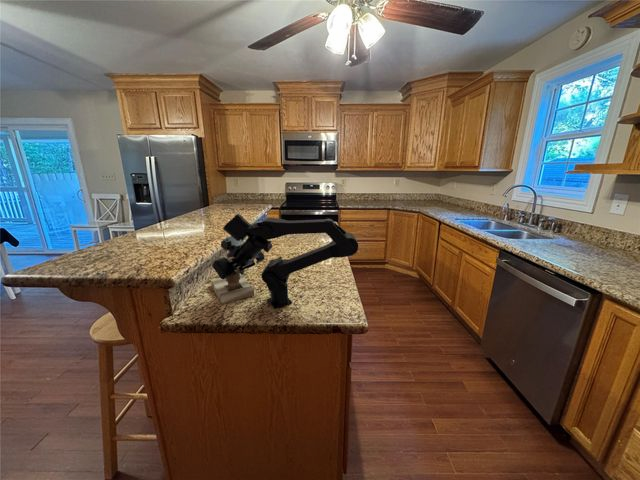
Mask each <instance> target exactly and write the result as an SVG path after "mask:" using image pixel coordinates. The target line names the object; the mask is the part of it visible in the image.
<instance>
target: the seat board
mask: <svg viewBox="0 0 640 480" xmlns="http://www.w3.org/2000/svg"><path fill="white" fill-rule="evenodd" d="M210 283H211V285H210V286H211V288H212V289H213V291H214V292H215V295H216V296H217V298H218V299H219V301H220V303H221V305H224V304H228V303H231V302H235V301H239V300H242V299H246V298H249V297H253V296H255V289H254V287H253V286H252V285H251V283H249V281H247V279H246V278H245V277H244V276H243V274H240V280H239V287H240V289H237V290H233V291H229V290H228V282H227V281H226V278H225V279H221V278H220V277H217V278H213V279H210Z"/></svg>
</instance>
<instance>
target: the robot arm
mask: <svg viewBox="0 0 640 480" xmlns="http://www.w3.org/2000/svg"><path fill="white" fill-rule="evenodd" d="M222 230H223V231H225V232H226V234H228V235H229V236H226V237H225V238H224V239H222V241H220V247H221V248H222V249H223V250H224V251H228V250H229V251H230V252H231V254H230V255H231V256H232V257H234V258H232V259H231V260H232V262H229V261H228V260H227V257H221V258H217V259H214V260H213V262H212V264H211V266H212V268H213V270H214V271H215V273H216V274H217V275H218V276H219V277H218V278H221V279H225V278H228V277H230V276H232V275H235V274H237V273H236V272H235V271H236V270H237V268H238V267H239V271H241V270H244V269H245V270H246V269H247V270H248V269H249V268H250V269H251V267H255V266H256V264H257V265H258V264H261V263H262V262H263V261H264V260H265V255H264V253H263V252H262V251H263V250H264V251H265V252H266V253H269V252H270V251H271V249H272V248H273V244H272V241H271V240H273V239H278V238H280V237H283V236H287V235H288V236H289V235H301V234H302V235H305V234H308V235H309V234H311V235H312V234H326V235H327V236H328V237H329V238H330V239H331V241H330V242H328V243H327V244H325V245H322V246H320V247H317V248H314V249H313V250H310V251H307V252H305V253H302V254H300V255H297V256H294V257H292V258H289V259H283V256H278V257H277V258H275V259H270V261H269V262H268V263H267V264H266V266H265V267H264V269H263V271H262V272H261V279H262V281H263V283H265V284H266V287H267V290H268V291H269V292H270V293H269V294H270V297H269V298H267V299H266V301H267V303H268V304H270V306H271V307H273V309H277V308H281V307H284V306H288V305H291V304H293V300H291V298H289V293H288V291H289V289H288V285H289V284H288V281H289V277H290V275H291V274H293V273H296V272H297V271H301V270H304V269H307V268H309V267H311V266H313V265H316V264H319V263H321V262H325V261H326V260H329V259H333V258H334V259H335V258H336V259H339V258H340V259H341V258H347V257H351V256H354V255H356V254H357V252H358V250H359V243H358V240H357V238H356V236H355V235H354V234H353V233H351V232H347V231H346V230H344V229H343V228H342V227H341V226H340V225H339V224H337V223H336V222H335V221H334V219H332V218H324V219H302V220H301V219H300V220H296V219H295V220H286V219H283V218H277V217H266V218H265V219H263V220H262V221H259V222H254V223H253V224H252V223H250V222H249V221H248V220H246V218H245V217H243V216H242V215H241V214H240V213H237V214H235V216H234V217H232V218H231V219H230V220H229V221H228V222H227V223H226V224H225V225H224V226H223V228H222ZM246 238H247V239H246ZM244 240H245V241H244ZM229 251H228V252H229ZM255 260H256V261H255Z"/></svg>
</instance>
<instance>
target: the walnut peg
mask: <svg viewBox="0 0 640 480" xmlns="http://www.w3.org/2000/svg"><path fill="white" fill-rule="evenodd" d="M226 258H227V257H226ZM232 258H234V257H229V258H227V260H228V261H229V262H232V260H231V259H232ZM235 272H236V273H237V274H235V275H232V276H230V277H228V278H226V281H227V282H228V290H229V291H233V290H237V289H240V287H239V280H240V271H239V267H238V268H237V270H236V271H235ZM229 291H228V292H229Z"/></svg>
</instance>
